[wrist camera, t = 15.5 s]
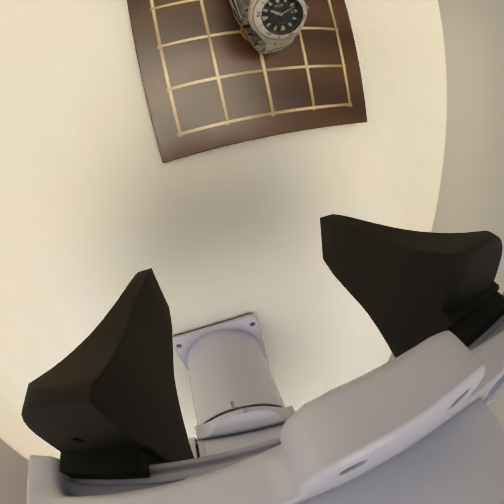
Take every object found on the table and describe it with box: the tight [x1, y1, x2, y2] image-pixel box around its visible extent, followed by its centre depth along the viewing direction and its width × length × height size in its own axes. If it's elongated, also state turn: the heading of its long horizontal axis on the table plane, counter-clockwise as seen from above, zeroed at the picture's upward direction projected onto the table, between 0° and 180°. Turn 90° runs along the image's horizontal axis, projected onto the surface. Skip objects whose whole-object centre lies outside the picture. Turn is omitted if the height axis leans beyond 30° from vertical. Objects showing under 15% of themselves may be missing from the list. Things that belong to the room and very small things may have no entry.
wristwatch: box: [229, 0, 309, 54], centre depth 11 cm, size 4×6×5 cm, turn 25°
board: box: [127, 0, 367, 163], centre depth 14 cm, size 15×15×1 cm
